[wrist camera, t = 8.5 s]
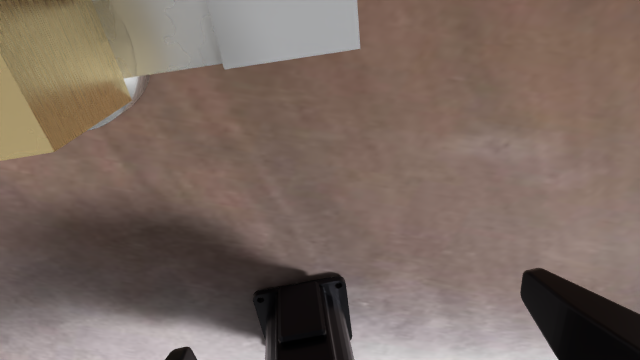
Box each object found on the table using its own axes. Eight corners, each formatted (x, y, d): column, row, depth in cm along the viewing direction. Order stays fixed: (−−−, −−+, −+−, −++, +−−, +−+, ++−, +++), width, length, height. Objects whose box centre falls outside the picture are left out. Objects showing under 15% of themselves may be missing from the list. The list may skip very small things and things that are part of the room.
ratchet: (33, 129, 17) (-64, 178, 12) (-57, -32, 14) (-238, -53, 9) (352, 79, 18) (381, 107, 13) (339, -86, 14) (371, -131, 10)
